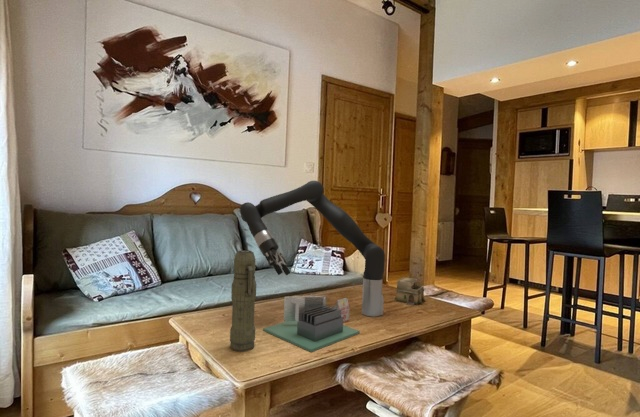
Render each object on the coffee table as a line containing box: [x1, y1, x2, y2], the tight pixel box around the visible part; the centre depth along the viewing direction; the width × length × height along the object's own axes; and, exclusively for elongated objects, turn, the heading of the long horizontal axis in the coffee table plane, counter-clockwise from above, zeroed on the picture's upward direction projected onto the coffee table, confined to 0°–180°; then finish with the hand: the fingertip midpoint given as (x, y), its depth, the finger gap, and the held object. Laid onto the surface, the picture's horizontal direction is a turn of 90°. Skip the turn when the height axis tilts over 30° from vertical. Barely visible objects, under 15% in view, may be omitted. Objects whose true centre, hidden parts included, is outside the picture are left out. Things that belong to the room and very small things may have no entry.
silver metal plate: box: [283, 295, 327, 322], centre depth 158 cm, size 18×2×10 cm, turn 101°
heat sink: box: [262, 295, 361, 353], centre depth 153 cm, size 28×28×16 cm
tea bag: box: [333, 297, 350, 323], centre depth 168 cm, size 4×7×10 cm, turn 135°
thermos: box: [229, 249, 257, 353], centre depth 136 cm, size 9×12×35 cm
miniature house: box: [394, 276, 426, 306], centre depth 204 cm, size 15×14×11 cm
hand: (284, 273), depth 158 cm, fingers open, 8 cm apart
